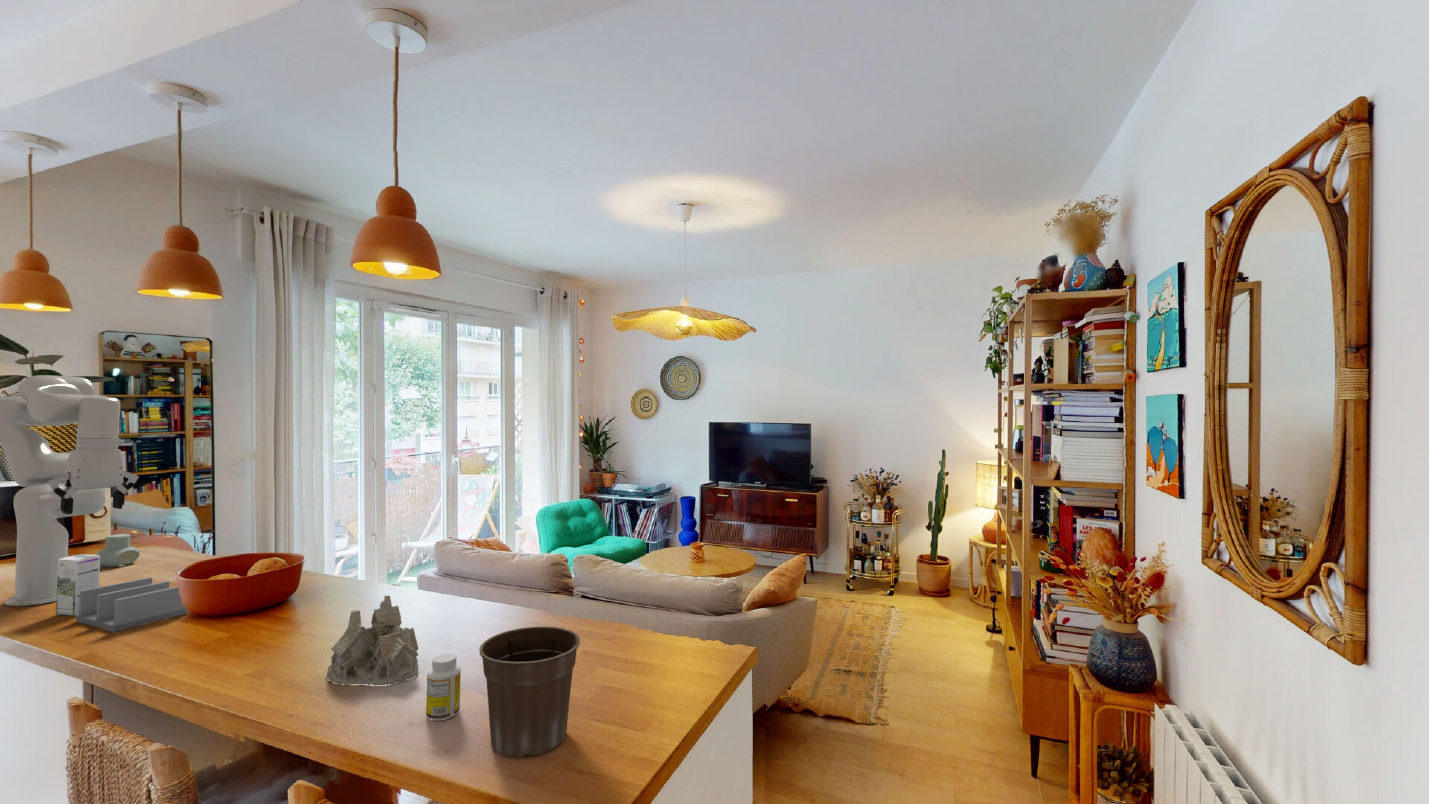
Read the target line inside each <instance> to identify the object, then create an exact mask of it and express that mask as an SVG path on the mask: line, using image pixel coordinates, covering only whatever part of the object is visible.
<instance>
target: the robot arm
mask: <svg viewBox="0 0 1429 804" xmlns="http://www.w3.org/2000/svg"><path fill="white" fill-rule="evenodd" d="M17 392H18V394H19V395H12V396H3V397H0V446H1V449H2V450H3V451H4V454H5V458H6V460H7V463H8V467H9V469H10V473H11V476H12V478H13V481H14V482H15V483H16V484H17V485H18V486H20V487H23V488H21V489H19V490H18V491H17V492H16V493H15V495H14V496H13V509H14V515H15V520H16V532H17V533H16V554H15V555H16V556H15V557H16V558H15V573H14V574H15V575H14V576H15V577H14V595H12V596H9V597H8V598H6V599H5V600H4V601H5V602H4V604H5V605H6V606H9V607H25V606H26V607H27V606H35V605H43V604H48V603H53V602H56V599H57V571H58V559H61V558H65V557H69V554H68V553H69V532H68V530H67V528H66V527H65V526H63V525H62V524H61V523H60V522H58V520H57V519H59V518H60V519H61V518H68V517H75V516H85V515H87V516H88V515H92V514H95V513H98V512H100V511H102V510H103V508H104V507H105V506H106V502H107V501H106V499H107V497H106V491H105V489H111V488H112V489H113V490H114V491H115V492H114V493H113V494H112V495H113V496H112V508H114V509H117V510H122V509H123V506H124V504H125V499H126V497H125V496H126V494H127V493H128V491H130V490H131V488H133V487H134V486H135V483H136V482H137V481H138V479H139V477H140V476H139V475H138V474H135V473H131V472H128V471H126V470H124V460H123V455H122V450H121V449H119V447H120V446H123V445H124V444H125V443H126V442H125V439H120V437H119V430H120V416H121V401H120V399H118V398H116V397H109V396H105V395H100V394H99V395H98V394H95V393H96V392H95V386H94V385H93V383H92V382H91V381H90V380H89V379H87V378H85V377H80V376H69V375H68V376H67V375H50V374H49V375H48V374H47V375H45V374H43V375H42V374H40V375H38V374H37V375H32V376H29V377H26V378H24V379H23V380H22V381H20V383H19V385H18V388H17ZM71 424H77V427H76V429H77V430H76V443H75V444H76V445H75V449H72V450H70V452H55V451H52V449H51V447H50V444H49V441H48V440H47V439H46V438H45V437H44V436H43V435H41V434H40V433H38V432H37V431H35V430H33V429H31V428H29V427H27V426H30V427H31V426H32V427H33V426H34V427H35V426H37V427H38V426H40V427H41V426H42V427H44V426H45V427H46V426H47V427H49V426H50V427H51V426H53V427H54V426H56V427H57V426H67V425H71ZM124 477H125V478H126V479H128V480H127V482H125V483H124ZM123 483H124V484H123Z"/></svg>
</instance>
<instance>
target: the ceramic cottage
mask: <svg viewBox="0 0 1429 804" xmlns="http://www.w3.org/2000/svg"><path fill="white" fill-rule="evenodd" d="M383 598H384V599H383V600H382V601H380V605H379V608H375V609H373V613H372V615H371V616H372V617H371V621H370V624H371V627H367V628H366V627H365V626H363V625H362V618H361V617H362V616H361V611H360V610H359V609H354V610H352V611H350V614H349V621H348V627H347V628H346V629H345V631H344V633H343V634H342V636H341V637H339V640H338V641H337V642H336V643H335V644H334V646H333V647H331V648H330V650H332V652H333V654H332V655H331V660H330V663H331V664H330V665H329V666H328V668H327V671H326V675H325V677H326V676H327V679H329V680H330V681H331V682H334V683H337V684H368V685H370V684H373V685H385V684H386V685H388V684H394V683H396V682H397V684H399V683H402V681H404V682H406V681H405V680H407V679H411V678H413V677H415V676H417V675H418V676H419V673H418V672H419V664H418V658H417V657H418V656H419V653H418V650H419V644H418V639H417V637H416V632H415V628H414V627H411V628H409V627H404V628H403V627H401V625H402V623H403V622H402V615H401V613H400V612H401V611H400V607H399V605H395V606H393V605H392V599H391V596H390V595H384V597H383ZM418 676H417V677H418ZM411 680H412V679H411ZM398 682H399V683H398Z"/></svg>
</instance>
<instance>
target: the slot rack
mask: <svg viewBox="0 0 1429 804" xmlns="http://www.w3.org/2000/svg"><path fill="white" fill-rule="evenodd" d="M178 586H179V585H177V586H174V587H170V581H168V580H166V581H161V582H155V583H153V577H150V576H149V577H144V578H139V579H134V580H129V581H123V582H119V583H114V584H109V585H108V584H107V585H103V586H99V587H97V588H92V589H87V590H81V591H80V604H79V615H76V616H75V622H76V621H77V622H76V623H79V622H80V624H83V623H84V625H86V624H87V625H86V626H91V627H93V626H95V627H94V628H96V627H98V628H97V629H100V630H103V629H105V630H104V631H107V630H108V631H107V632H110V633H116V632H120V631H124V630H123V629H125V630H129V629H133V628H135V627H134V626H137V627H140V625H141V626H144V625H143V624H145V625H147V624H146V623H149V624H151V623H152V622H153V623H155V621H157V622H159V621H158V620H161V621H165V620H167V619H166V618H169V619H172V617H173V618H175V616H177V617H180V616H179V615H181V616H184V614H185V615H188V614H189V610H188V611H187V609H186V608H185V607H184V605H183V603H182V601H181V596H180V594H179V588H178ZM164 619H165V620H164ZM153 623H152V624H153ZM132 627H133V628H132Z"/></svg>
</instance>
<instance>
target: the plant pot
mask: <svg viewBox="0 0 1429 804" xmlns="http://www.w3.org/2000/svg"><path fill="white" fill-rule="evenodd" d="M580 643H581V638H580V635H578V634H577V633H576V632H575V631H573V630H570V629H565V628H562V627H559V626H529V627H522V628H515V629H510V630H506V631H503V632H500V633H498V634H495V635H492V636H491V637H489V638H487V639H486V640H484V642H482V643H481V644H480V646H479V649H478V651H479V656H480V657H481V658H482V666H483V667H482V668H483V674H484V675H483V676H484V677H485V681H486V691H487V693H486V694H487V704H488V718H489V719H488V720H489V731H490V732H489V733H490V735H489V736H490V746H491V748H492V750H493V749H494V750H493V751H494V752H495V751H496V752H495V753H497V754H498V753H499V755H500V756H503V755H504V757H507V758H513V757H516V759H517V757H521V758H523V757H524V756H526V755H531V756H532V757H536V756H541V755H542V754H545V753H549V752H550V751H551V750H554V749H555V748H557V747H558V746H559V745H561V744H562V742H563V741H564V740H565V739H566V736H567V731H568V718H569V710H570V709H569V708H570V699H571V689H572V680H573V670H574V667H575V665H576V661H577V660H576V659H577V649H578V648H579V646H580Z"/></svg>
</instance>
